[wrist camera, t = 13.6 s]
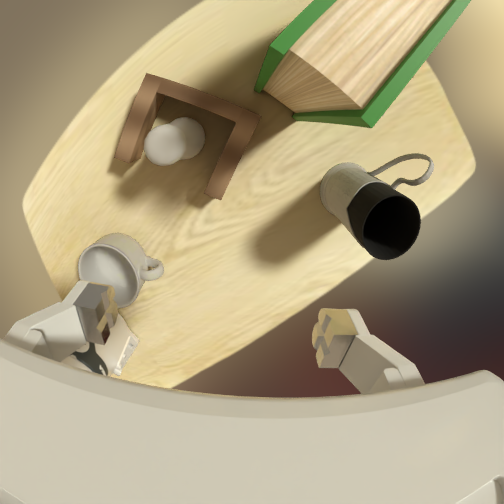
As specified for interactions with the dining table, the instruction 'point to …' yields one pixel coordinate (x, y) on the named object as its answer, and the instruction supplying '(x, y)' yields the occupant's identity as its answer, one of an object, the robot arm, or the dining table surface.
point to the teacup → (119, 266)
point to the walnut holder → (158, 87)
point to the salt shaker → (174, 141)
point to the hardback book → (353, 56)
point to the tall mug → (374, 207)
